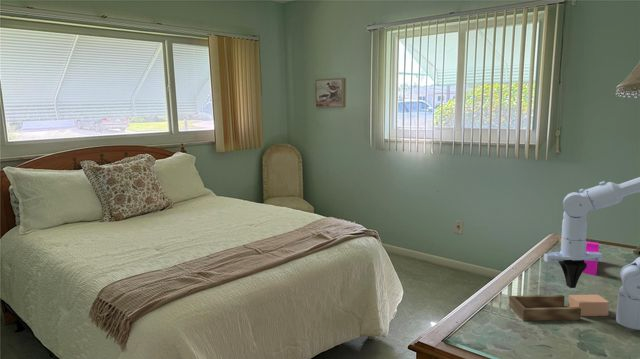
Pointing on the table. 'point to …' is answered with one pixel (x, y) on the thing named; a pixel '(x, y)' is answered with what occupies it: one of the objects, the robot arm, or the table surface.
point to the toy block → (591, 264)
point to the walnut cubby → (543, 313)
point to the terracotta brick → (589, 304)
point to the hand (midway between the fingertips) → (570, 286)
